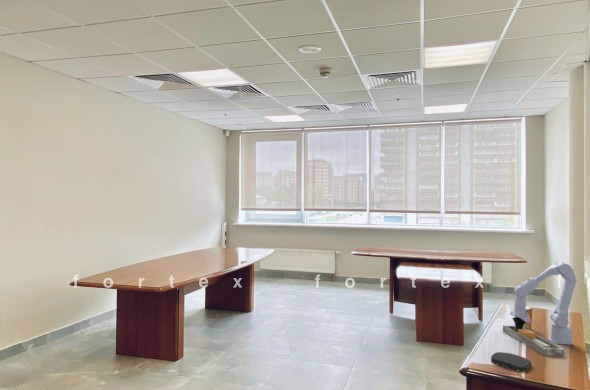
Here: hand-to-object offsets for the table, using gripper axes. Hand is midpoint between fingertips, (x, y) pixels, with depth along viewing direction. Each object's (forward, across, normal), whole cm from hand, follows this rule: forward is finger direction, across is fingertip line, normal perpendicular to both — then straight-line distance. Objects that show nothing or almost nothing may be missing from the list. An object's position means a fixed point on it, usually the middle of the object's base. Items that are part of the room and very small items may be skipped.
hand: (518, 331), depth 225 cm
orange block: (+1, +7, 0) cm, 7 cm away
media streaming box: (+3, +41, -30) cm, 51 cm away
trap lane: (+3, +11, 0) cm, 11 cm away
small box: (+3, -14, +12) cm, 19 cm away
